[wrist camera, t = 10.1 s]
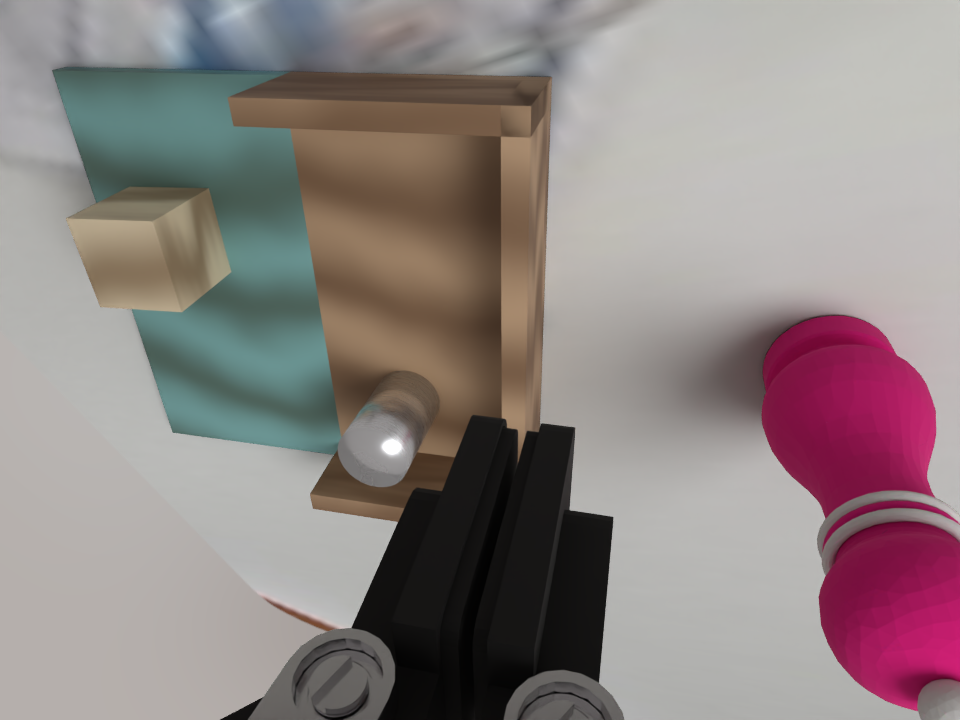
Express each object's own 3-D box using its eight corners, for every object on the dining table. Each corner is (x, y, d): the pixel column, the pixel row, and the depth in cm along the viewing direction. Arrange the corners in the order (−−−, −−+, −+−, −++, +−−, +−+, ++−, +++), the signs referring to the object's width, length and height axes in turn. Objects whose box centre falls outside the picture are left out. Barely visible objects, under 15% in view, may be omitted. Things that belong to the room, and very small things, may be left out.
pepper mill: (912, 406, 36) (1122, 812, 20) (768, 432, 39) (846, 807, 22) (893, 288, 33) (1122, 652, 17) (738, 326, 36) (802, 669, 19)
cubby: (66, 67, 36) (-28, 89, 31) (551, 77, 31) (531, 106, 26) (181, 423, 49) (127, 479, 44) (538, 471, 44) (522, 541, 39)
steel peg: (367, 376, 42) (325, 433, 37) (425, 365, 40) (390, 422, 35) (392, 429, 43) (355, 491, 38) (449, 420, 42) (418, 482, 37)
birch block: (129, 186, 38) (65, 218, 34) (208, 188, 37) (152, 221, 33) (156, 268, 41) (100, 307, 37) (231, 272, 40) (182, 312, 36)
